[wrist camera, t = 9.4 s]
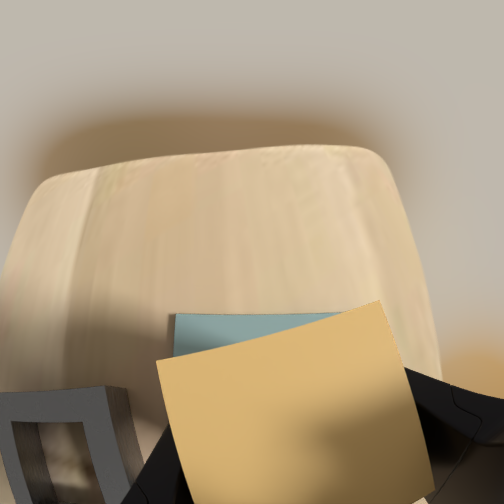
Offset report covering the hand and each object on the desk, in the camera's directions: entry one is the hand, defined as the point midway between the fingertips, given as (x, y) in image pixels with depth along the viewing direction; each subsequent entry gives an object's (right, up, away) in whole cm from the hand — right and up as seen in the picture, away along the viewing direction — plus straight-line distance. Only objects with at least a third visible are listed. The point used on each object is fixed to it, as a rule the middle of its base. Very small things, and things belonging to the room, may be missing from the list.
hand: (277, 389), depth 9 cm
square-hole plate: (-13, -10, +5) cm, 17 cm away
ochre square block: (0, -4, +5) cm, 7 cm away
